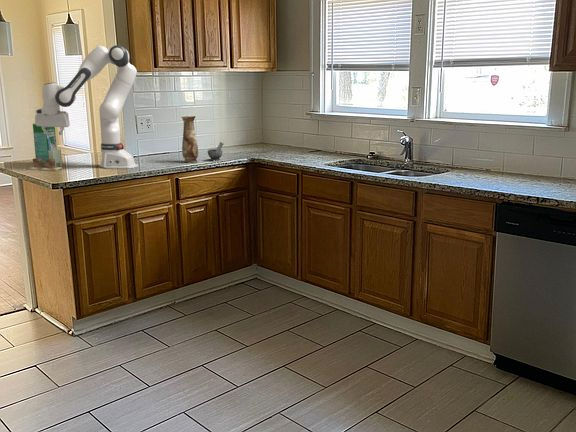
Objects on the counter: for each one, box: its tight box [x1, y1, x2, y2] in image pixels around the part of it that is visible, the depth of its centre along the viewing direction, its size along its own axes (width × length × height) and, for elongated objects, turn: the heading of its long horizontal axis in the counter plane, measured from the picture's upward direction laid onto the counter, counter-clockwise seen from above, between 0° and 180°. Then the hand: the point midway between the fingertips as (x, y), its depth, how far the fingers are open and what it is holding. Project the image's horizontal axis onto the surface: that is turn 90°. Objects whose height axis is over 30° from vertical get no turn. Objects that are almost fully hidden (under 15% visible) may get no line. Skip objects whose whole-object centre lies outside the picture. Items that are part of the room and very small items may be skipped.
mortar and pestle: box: [207, 141, 224, 161], centre depth 379 cm, size 11×9×12 cm
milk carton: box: [32, 123, 58, 163], centre depth 352 cm, size 9×9×25 cm
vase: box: [180, 114, 199, 163], centre depth 368 cm, size 10×11×30 cm
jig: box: [26, 157, 63, 171], centre depth 334 cm, size 18×7×6 cm, turn 82°
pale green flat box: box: [48, 148, 63, 167], centre depth 342 cm, size 9×3×10 cm, turn 172°
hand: (53, 134), depth 339 cm, fingers open, 8 cm apart
